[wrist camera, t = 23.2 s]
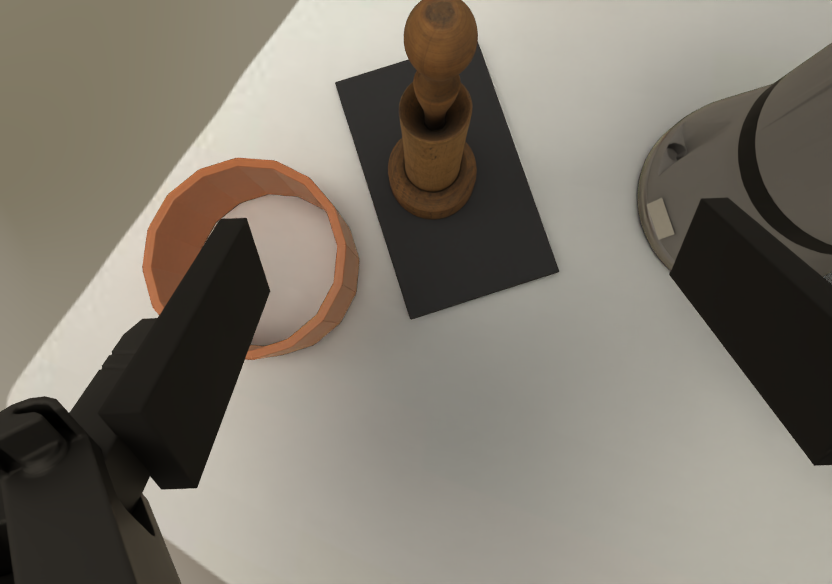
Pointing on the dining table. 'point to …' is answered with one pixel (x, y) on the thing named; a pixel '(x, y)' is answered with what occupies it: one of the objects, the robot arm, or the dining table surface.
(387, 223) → the rubber mat
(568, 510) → the dining table surface
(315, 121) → the dining table surface
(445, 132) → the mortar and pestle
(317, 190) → the copper pot
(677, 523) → the dining table surface
